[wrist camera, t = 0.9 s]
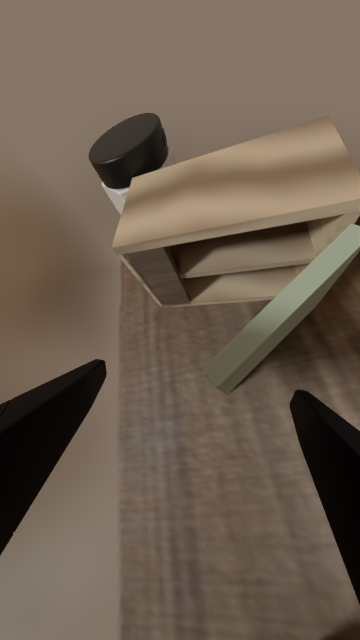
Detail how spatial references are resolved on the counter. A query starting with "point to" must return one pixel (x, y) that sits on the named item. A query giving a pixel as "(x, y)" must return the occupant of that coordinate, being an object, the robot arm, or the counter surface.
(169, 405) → the counter surface
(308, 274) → the door
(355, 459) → the robot arm
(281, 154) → the cabinet
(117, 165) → the jar
